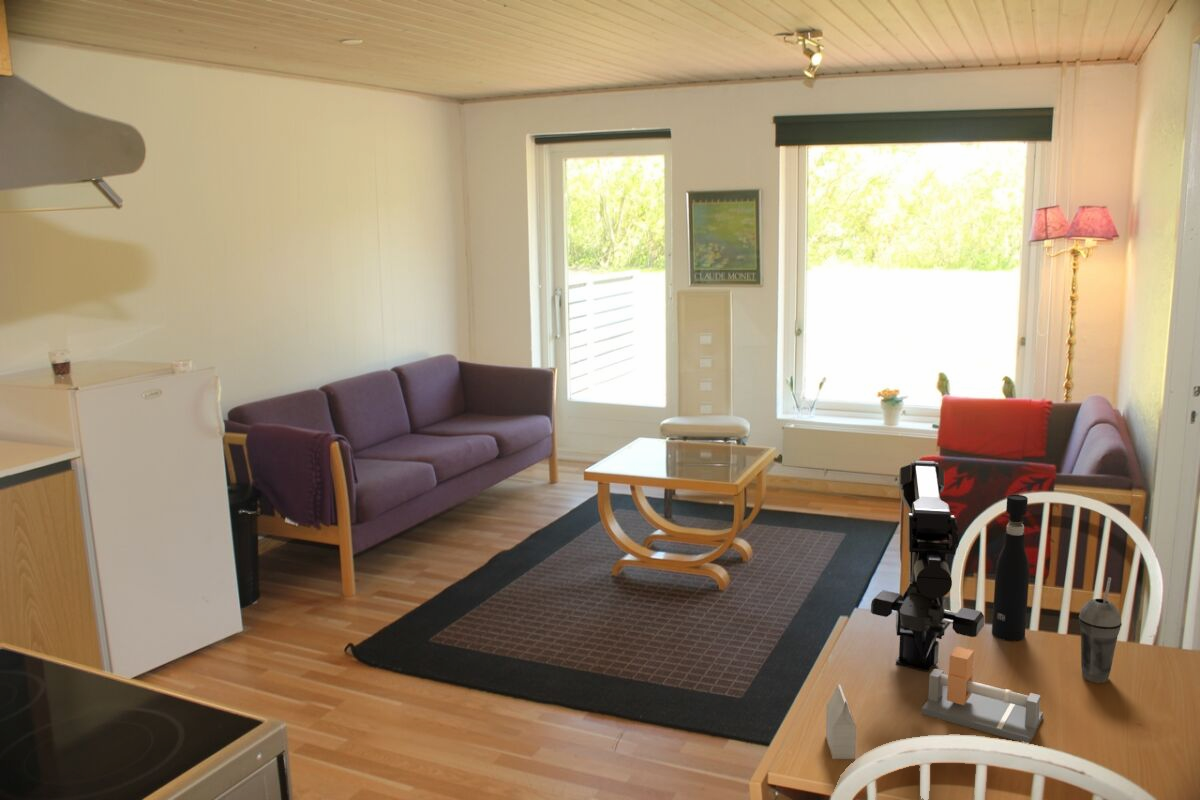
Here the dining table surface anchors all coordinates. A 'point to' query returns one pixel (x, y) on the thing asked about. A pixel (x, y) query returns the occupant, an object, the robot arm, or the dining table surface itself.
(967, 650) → the collar
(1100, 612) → the beverage cup
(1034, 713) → the rail stand
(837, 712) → the grey gable top carton
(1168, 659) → the dining table surface
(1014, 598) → the black water bottle
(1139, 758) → the dining table surface
